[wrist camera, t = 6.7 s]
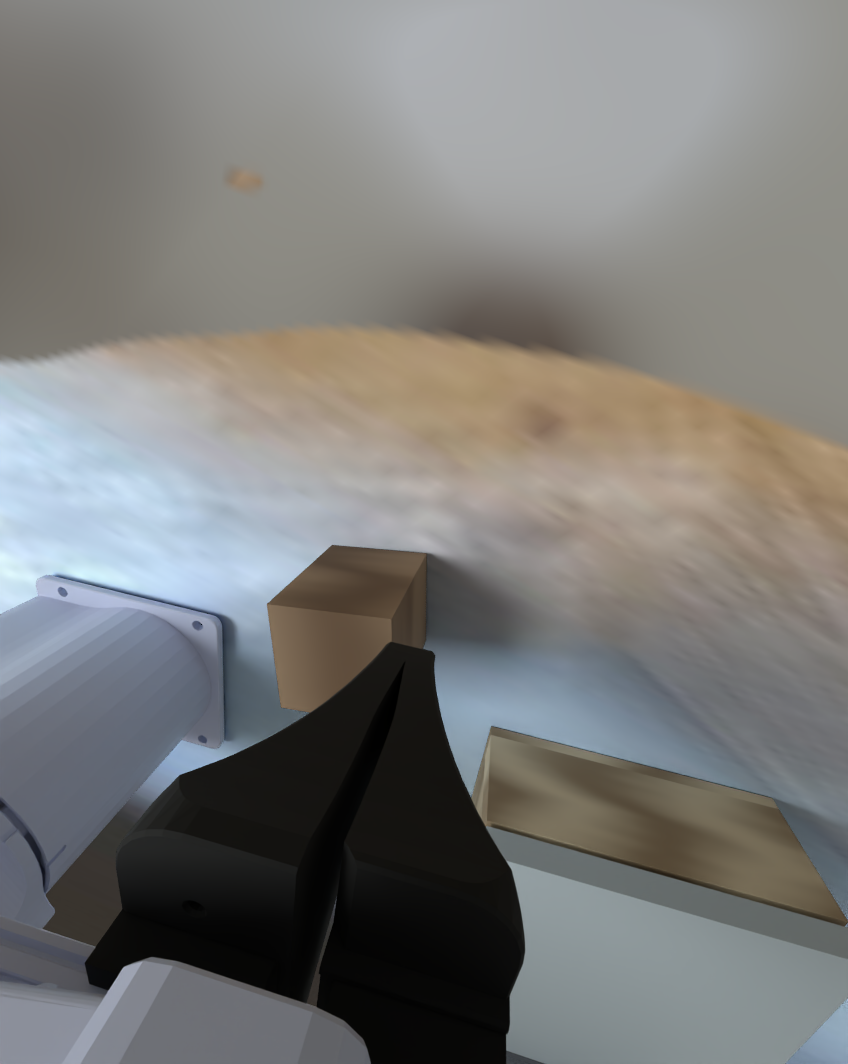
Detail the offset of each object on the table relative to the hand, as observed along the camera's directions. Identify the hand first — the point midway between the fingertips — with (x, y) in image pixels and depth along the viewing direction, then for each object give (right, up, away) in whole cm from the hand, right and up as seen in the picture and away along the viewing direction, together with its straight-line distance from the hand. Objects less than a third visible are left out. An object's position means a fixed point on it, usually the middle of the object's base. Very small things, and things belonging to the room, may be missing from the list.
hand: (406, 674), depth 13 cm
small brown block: (-1, +2, +6) cm, 6 cm away
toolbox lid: (+7, -14, +5) cm, 17 cm away
